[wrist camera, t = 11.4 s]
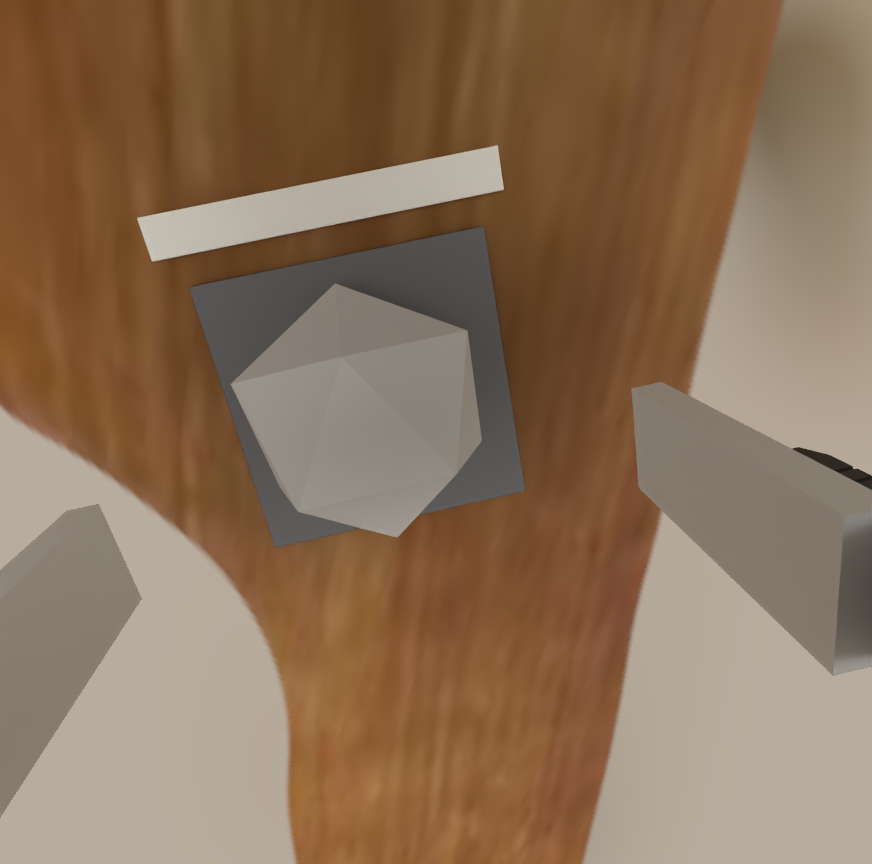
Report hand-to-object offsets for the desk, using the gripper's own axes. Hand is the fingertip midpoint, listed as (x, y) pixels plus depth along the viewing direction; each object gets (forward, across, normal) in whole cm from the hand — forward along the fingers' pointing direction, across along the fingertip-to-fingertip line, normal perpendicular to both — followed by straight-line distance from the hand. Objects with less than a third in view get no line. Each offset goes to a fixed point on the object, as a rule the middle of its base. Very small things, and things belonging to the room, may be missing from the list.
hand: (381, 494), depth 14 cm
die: (+11, -1, 0) cm, 11 cm away
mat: (+12, 0, 0) cm, 12 cm away
